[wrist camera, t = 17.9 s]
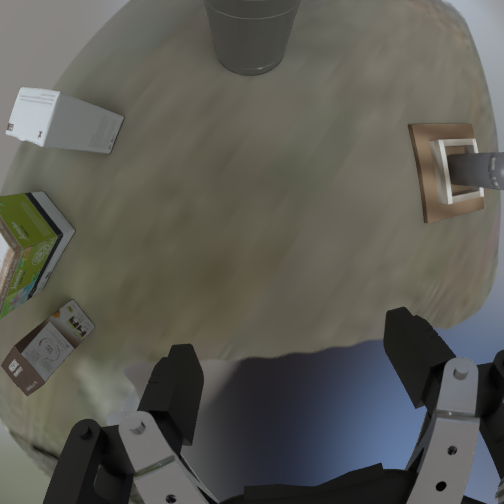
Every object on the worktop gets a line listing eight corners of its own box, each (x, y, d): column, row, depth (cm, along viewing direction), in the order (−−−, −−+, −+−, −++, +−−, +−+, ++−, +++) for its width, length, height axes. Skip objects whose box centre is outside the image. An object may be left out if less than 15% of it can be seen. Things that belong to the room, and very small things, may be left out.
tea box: (44, 291, 37) (-8, 327, 23) (14, 252, 35) (-40, 276, 21) (78, 230, 35) (12, 254, 21) (44, 188, 33) (-22, 197, 19)
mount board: (407, 125, 32) (420, 121, 29) (468, 124, 31) (480, 122, 28) (424, 222, 36) (437, 226, 32) (480, 207, 35) (493, 210, 32)
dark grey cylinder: (441, 155, 32) (496, 153, 20) (460, 153, 32) (512, 151, 20) (446, 187, 33) (501, 193, 22) (465, 182, 33) (517, 188, 21)
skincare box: (125, 117, 31) (65, 88, 17) (110, 157, 33) (43, 148, 18) (83, 106, 30) (20, 83, 16) (69, 144, 32) (1, 135, 17)
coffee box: (72, 297, 37) (14, 343, 22) (96, 326, 39) (46, 383, 23) (50, 320, 39) (-1, 365, 23) (72, 347, 40) (27, 398, 24)
